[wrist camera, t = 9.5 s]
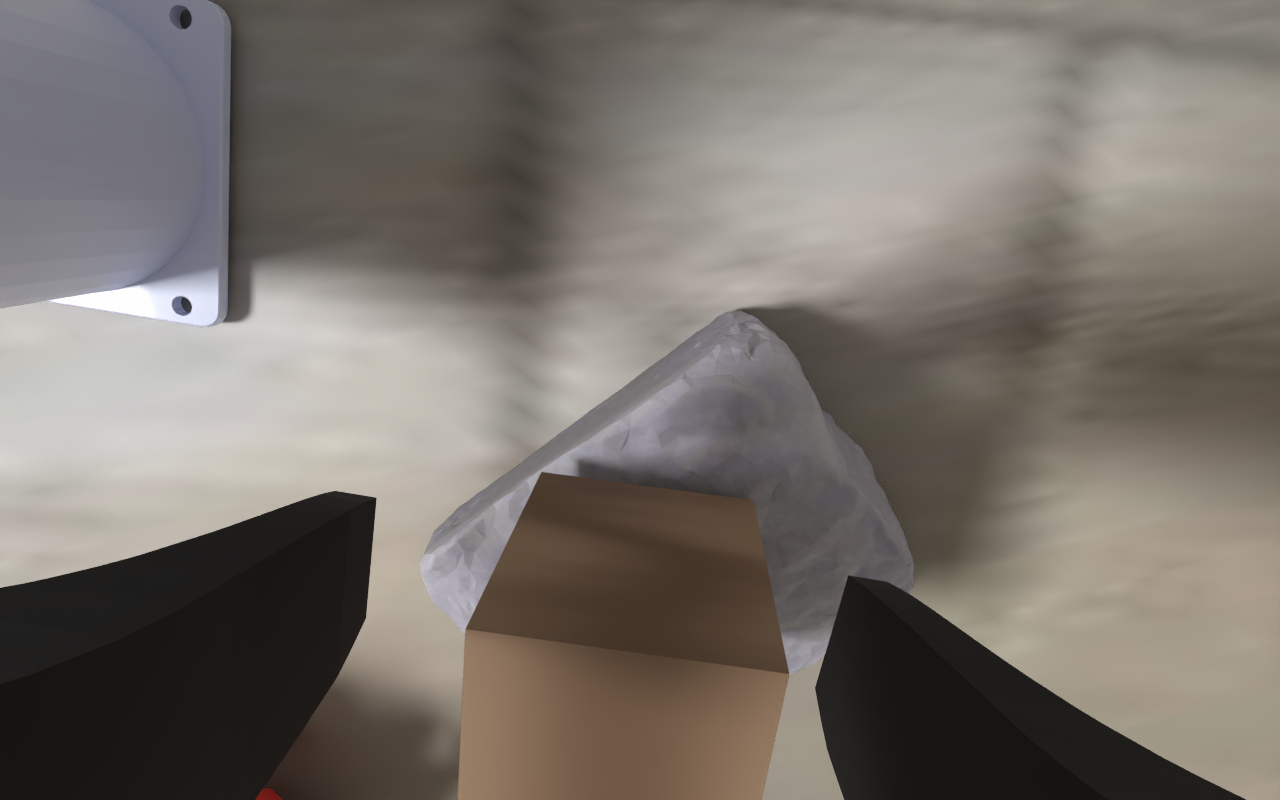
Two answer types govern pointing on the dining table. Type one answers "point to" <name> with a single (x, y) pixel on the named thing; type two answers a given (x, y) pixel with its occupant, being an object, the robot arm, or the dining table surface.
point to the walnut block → (623, 650)
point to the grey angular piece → (710, 478)
